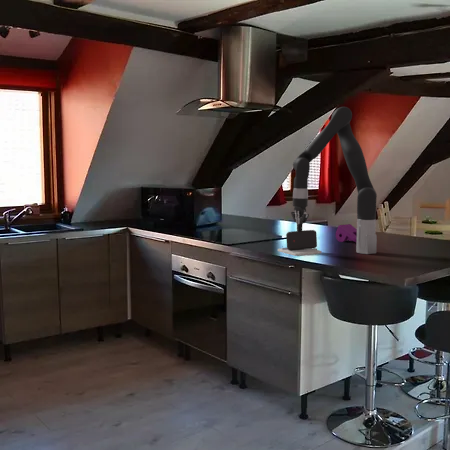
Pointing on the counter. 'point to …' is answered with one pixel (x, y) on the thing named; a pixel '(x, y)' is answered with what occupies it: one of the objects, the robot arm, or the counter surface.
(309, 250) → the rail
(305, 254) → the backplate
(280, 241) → the counter surface
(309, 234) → the leaning round-cornered charcoal block
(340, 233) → the mounting bracket
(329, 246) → the counter surface
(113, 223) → the counter surface
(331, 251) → the counter surface
